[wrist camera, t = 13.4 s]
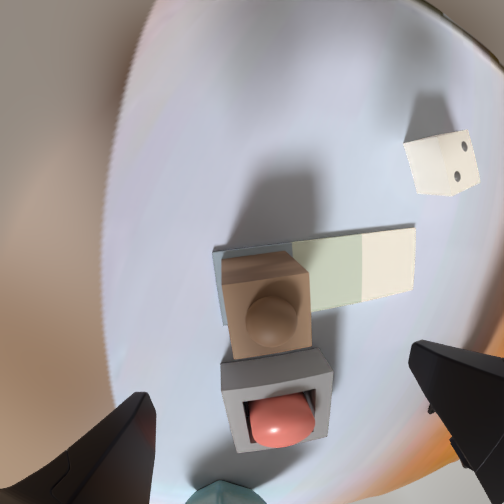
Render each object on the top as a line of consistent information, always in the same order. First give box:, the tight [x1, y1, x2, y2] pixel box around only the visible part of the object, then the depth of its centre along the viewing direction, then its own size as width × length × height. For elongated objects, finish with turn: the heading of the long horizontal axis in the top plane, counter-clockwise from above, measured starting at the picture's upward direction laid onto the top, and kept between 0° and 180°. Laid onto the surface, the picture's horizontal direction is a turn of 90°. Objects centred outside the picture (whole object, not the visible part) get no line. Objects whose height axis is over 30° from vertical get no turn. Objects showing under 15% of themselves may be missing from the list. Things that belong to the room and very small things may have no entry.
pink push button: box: [247, 391, 315, 448], centre depth 17 cm, size 4×4×4 cm
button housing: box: [220, 348, 333, 453], centre depth 18 cm, size 7×7×3 cm
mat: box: [212, 227, 416, 326], centre depth 18 cm, size 15×5×1 cm, turn 96°
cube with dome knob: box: [221, 251, 312, 360], centre depth 14 cm, size 4×4×6 cm
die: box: [403, 130, 480, 196], centre depth 16 cm, size 4×4×4 cm
